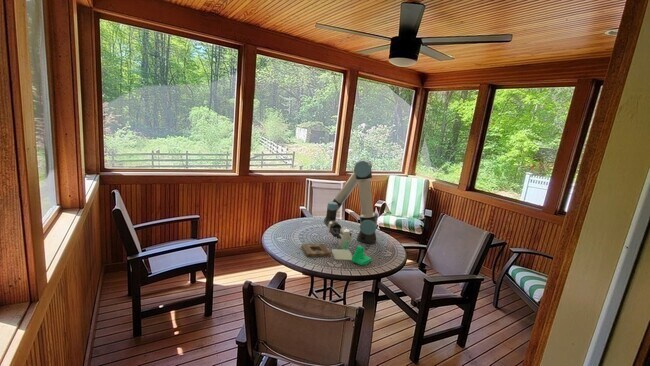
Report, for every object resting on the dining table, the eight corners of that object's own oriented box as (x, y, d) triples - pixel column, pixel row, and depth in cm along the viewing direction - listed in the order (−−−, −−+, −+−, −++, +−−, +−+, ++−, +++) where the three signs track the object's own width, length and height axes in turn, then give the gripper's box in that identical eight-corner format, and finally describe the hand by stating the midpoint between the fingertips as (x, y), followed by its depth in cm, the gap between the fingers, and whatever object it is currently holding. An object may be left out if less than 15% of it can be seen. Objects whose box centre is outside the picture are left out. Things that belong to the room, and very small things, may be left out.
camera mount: (360, 266, 190) (362, 251, 188) (351, 262, 195) (353, 247, 193) (371, 262, 199) (373, 247, 197) (362, 257, 204) (364, 243, 202)
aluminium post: (344, 245, 207) (347, 229, 205) (347, 248, 202) (350, 231, 200) (337, 245, 205) (340, 228, 203) (340, 248, 201) (343, 231, 198)
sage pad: (349, 250, 213) (349, 249, 213) (354, 260, 198) (354, 259, 198) (331, 249, 211) (331, 249, 211) (335, 259, 196) (335, 259, 196)
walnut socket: (322, 246, 215) (323, 243, 215) (330, 256, 201) (330, 253, 200) (301, 246, 210) (301, 244, 210) (307, 256, 195) (307, 253, 195)
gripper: (345, 232, 223) (358, 245, 201) (322, 232, 217) (333, 245, 195) (346, 222, 221) (360, 234, 200) (323, 222, 215) (335, 234, 194)
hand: (347, 239), depth 198 cm, fingers closed on aluminium post, 5 cm apart
